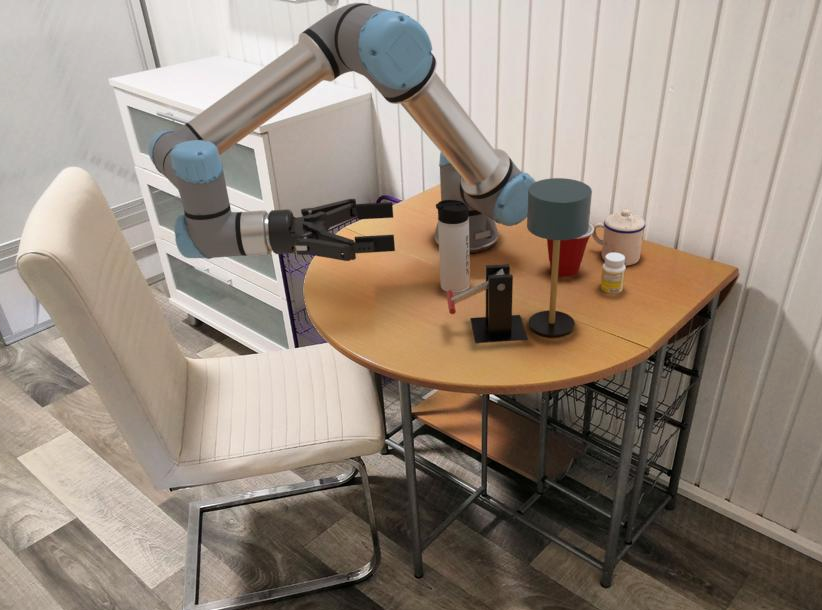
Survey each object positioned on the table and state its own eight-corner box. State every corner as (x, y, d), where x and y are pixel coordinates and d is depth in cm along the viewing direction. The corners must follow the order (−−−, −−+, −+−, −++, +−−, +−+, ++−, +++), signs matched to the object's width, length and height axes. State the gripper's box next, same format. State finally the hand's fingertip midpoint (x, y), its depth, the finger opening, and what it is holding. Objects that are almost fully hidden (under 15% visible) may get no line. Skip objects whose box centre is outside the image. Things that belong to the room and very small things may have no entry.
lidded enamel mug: (646, 254, 171) (652, 207, 164) (632, 270, 164) (638, 222, 158) (597, 243, 176) (602, 196, 169) (582, 258, 170) (586, 211, 163)
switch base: (475, 348, 140) (474, 284, 132) (470, 322, 148) (469, 261, 140) (527, 344, 141) (529, 281, 133) (519, 319, 148) (521, 258, 140)
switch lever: (452, 317, 137) (446, 308, 136) (449, 298, 143) (443, 289, 142) (511, 290, 135) (505, 280, 134) (505, 272, 141) (500, 262, 139)
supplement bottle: (609, 284, 160) (612, 249, 155) (627, 292, 157) (631, 256, 152) (595, 292, 157) (599, 256, 152) (613, 300, 154) (617, 264, 149)
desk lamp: (519, 317, 149) (523, 179, 133) (572, 313, 150) (583, 176, 133) (528, 347, 140) (534, 204, 124) (585, 343, 141) (598, 200, 124)
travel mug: (434, 286, 160) (431, 199, 148) (462, 280, 162) (461, 194, 150) (445, 300, 155) (442, 211, 144) (474, 293, 157) (473, 205, 146)
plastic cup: (598, 282, 161) (603, 231, 154) (551, 289, 158) (555, 238, 151) (577, 259, 169) (582, 211, 162) (533, 266, 167) (535, 217, 160)
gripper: (281, 222, 140) (393, 216, 142) (265, 286, 120) (396, 278, 121) (275, 184, 136) (390, 178, 137) (257, 244, 115) (393, 237, 117)
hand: (393, 225), depth 129 cm, fingers open, 13 cm apart
